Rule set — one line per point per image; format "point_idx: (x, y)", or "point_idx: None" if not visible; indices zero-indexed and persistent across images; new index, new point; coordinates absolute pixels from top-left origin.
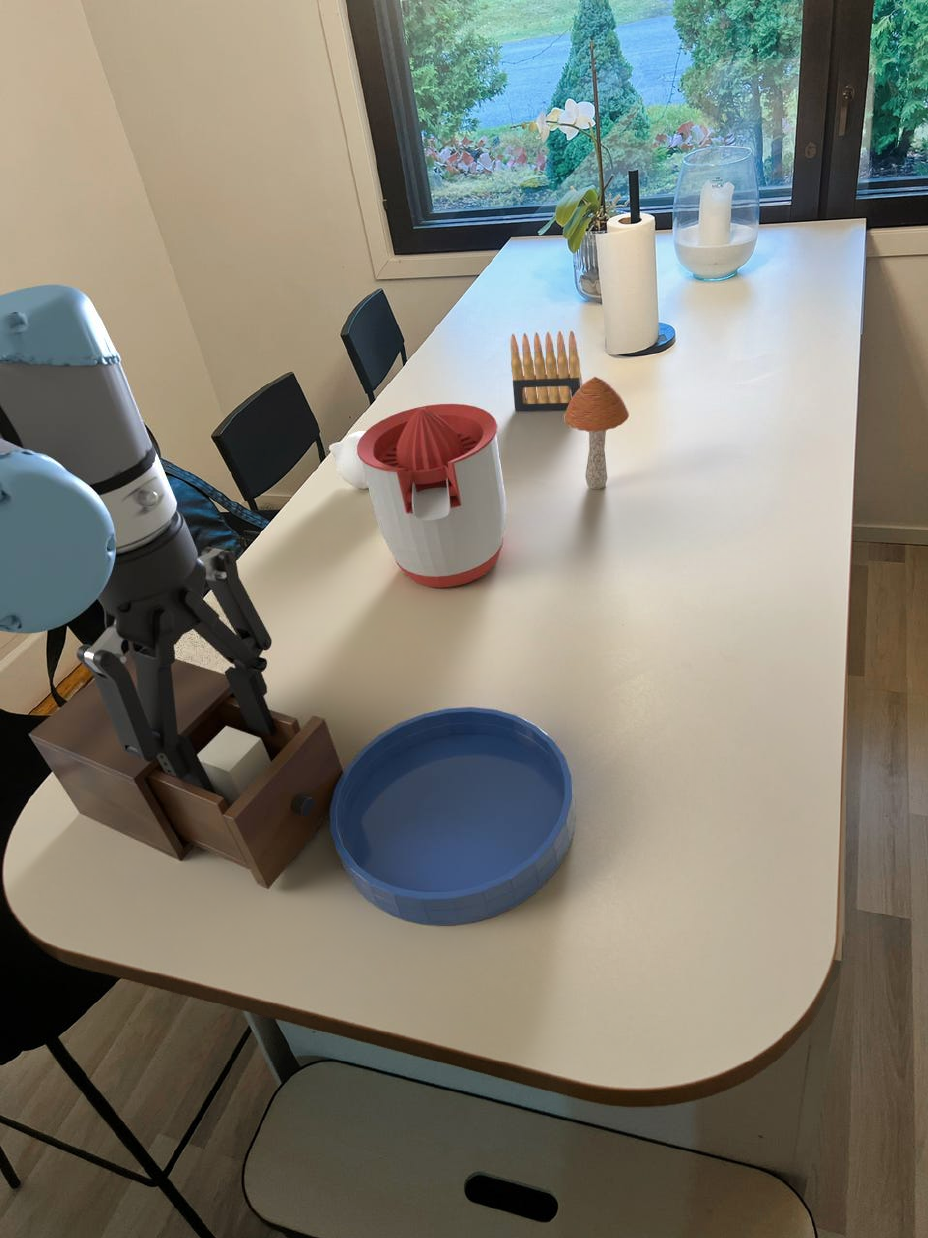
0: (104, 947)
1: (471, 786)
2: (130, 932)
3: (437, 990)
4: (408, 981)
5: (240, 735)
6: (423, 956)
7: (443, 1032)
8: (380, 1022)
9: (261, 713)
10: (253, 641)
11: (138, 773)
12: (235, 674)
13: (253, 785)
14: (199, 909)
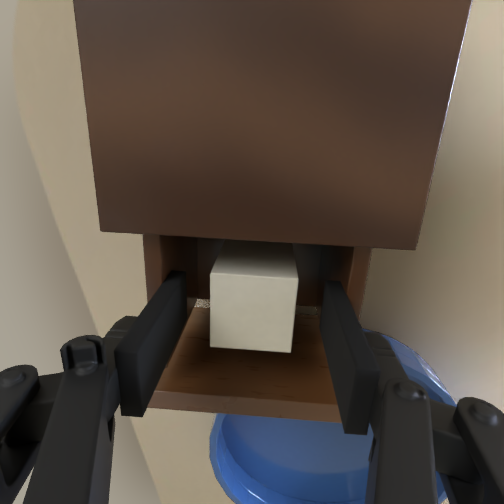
0: (50, 183)
1: (368, 428)
2: (78, 198)
3: (178, 461)
4: (174, 443)
5: (284, 318)
6: (197, 445)
7: (155, 473)
8: (139, 439)
9: (327, 357)
10: (454, 470)
11: (114, 231)
12: (354, 398)
13: (200, 399)
14: (138, 253)
